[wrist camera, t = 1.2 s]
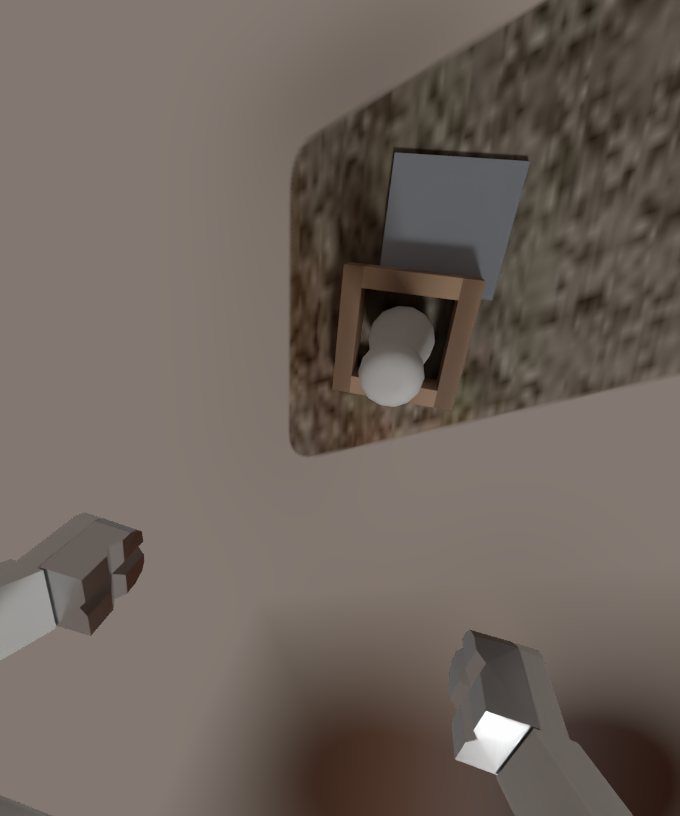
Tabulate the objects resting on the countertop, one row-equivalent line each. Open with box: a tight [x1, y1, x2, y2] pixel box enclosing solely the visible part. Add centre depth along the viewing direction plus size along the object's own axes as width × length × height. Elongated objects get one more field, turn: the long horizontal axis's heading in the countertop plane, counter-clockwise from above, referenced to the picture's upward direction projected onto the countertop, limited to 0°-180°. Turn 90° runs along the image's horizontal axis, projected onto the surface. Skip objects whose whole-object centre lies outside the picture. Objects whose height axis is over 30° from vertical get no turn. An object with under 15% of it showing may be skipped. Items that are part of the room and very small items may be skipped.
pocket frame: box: [332, 262, 486, 411], centre depth 33 cm, size 11×11×3 cm
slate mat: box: [380, 152, 530, 300], centre depth 30 cm, size 10×10×1 cm
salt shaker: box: [358, 306, 435, 407], centre depth 29 cm, size 6×6×13 cm
